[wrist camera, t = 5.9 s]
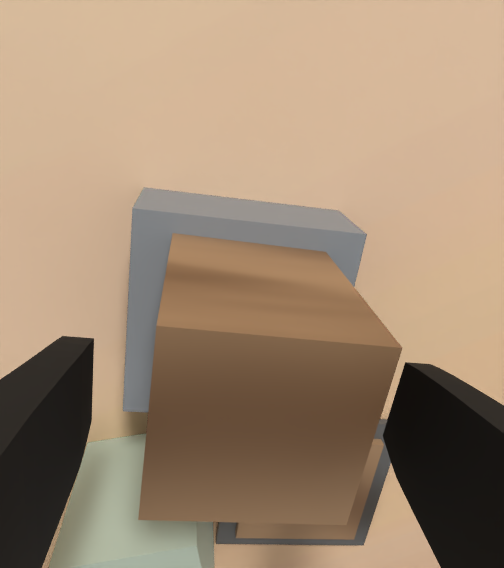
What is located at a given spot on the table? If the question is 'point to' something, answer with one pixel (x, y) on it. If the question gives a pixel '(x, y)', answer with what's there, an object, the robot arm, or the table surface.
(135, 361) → the base block
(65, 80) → the table surface
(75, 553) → the sage block
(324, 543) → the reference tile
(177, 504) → the walnut block
